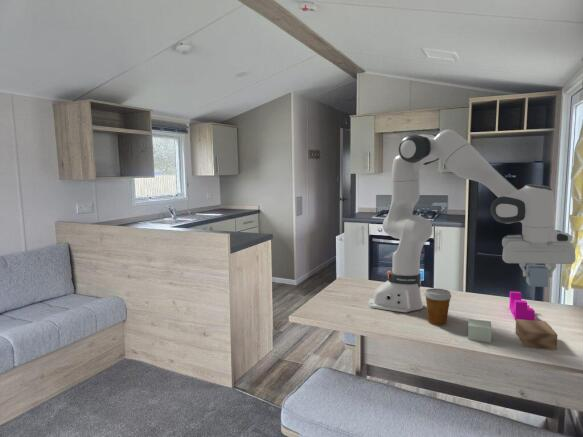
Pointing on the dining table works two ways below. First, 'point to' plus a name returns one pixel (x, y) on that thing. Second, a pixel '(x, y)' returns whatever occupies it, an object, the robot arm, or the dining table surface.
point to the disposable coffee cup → (437, 305)
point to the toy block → (520, 307)
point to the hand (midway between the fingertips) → (537, 276)
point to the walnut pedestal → (536, 334)
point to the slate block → (537, 275)
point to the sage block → (479, 330)
